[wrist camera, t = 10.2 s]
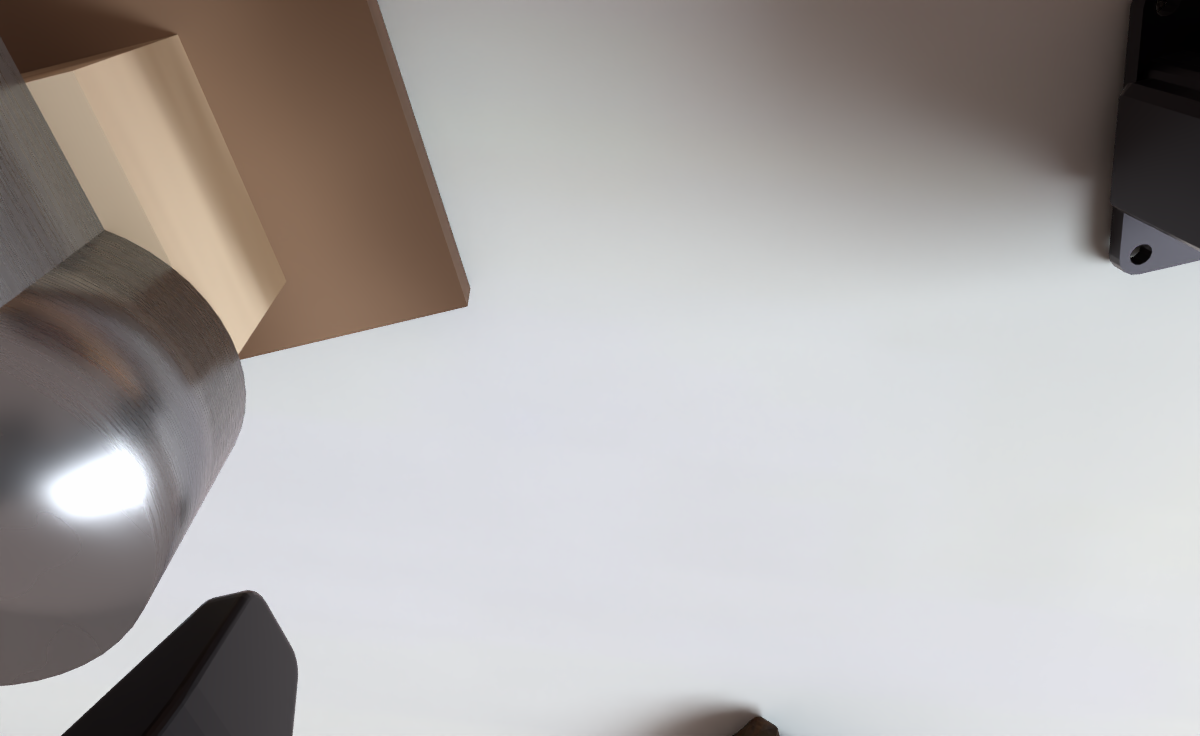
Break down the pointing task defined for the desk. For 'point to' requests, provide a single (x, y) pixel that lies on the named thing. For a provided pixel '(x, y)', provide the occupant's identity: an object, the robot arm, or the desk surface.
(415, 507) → the desk surface
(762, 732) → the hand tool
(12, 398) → the grey long block
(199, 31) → the tool rack
